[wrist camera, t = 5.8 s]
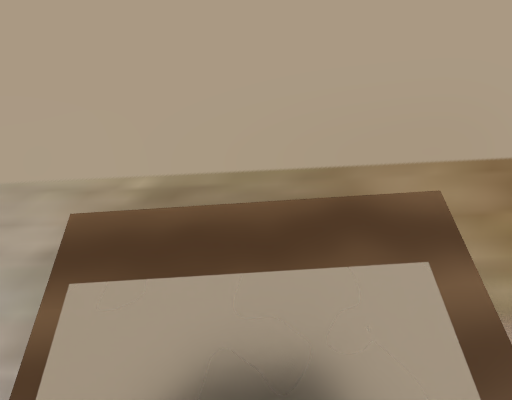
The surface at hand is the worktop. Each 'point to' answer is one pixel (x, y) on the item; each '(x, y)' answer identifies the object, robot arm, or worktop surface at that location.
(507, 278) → the worktop surface
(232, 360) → the aluminium bar
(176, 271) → the walnut pocket block
